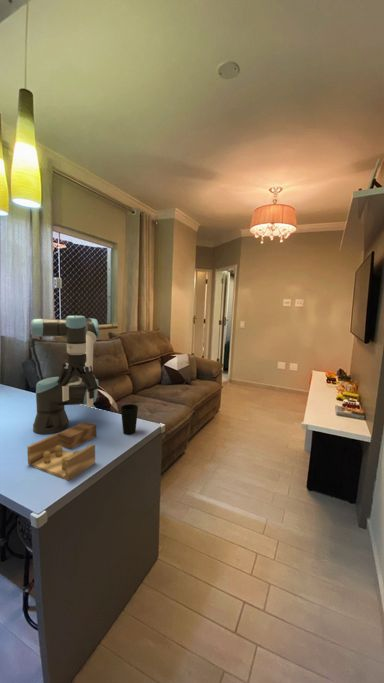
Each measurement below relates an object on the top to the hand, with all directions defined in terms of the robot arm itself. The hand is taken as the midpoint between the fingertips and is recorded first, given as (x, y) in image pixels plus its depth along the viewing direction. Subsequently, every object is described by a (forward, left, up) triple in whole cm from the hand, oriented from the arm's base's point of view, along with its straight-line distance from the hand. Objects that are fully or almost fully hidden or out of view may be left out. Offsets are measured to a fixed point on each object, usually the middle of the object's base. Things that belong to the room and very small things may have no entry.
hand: (77, 403), depth 119 cm
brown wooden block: (0, 0, -17) cm, 17 cm away
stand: (+9, -16, -16) cm, 25 cm away
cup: (+14, +17, -17) cm, 28 cm away
